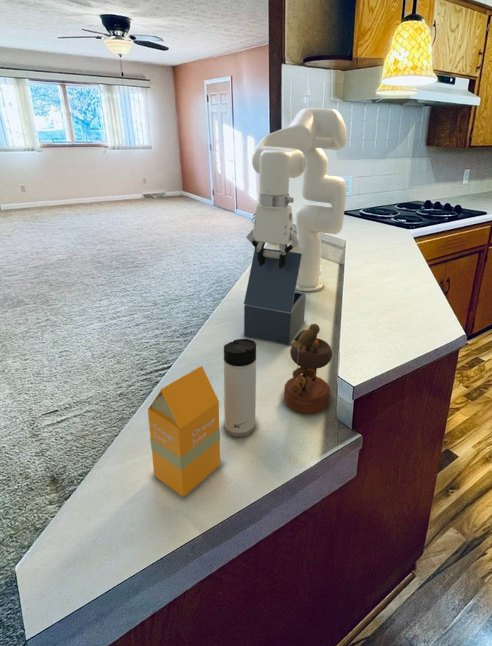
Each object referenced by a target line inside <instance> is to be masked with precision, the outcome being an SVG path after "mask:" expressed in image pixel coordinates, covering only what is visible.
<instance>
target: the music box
mask: <svg viewBox="0 0 492 646" xmlns="http://www.w3.org/2000/svg"><path fill="white" fill-rule="evenodd" d="M320 330H321V328H320V326H319V324H317V323H312V324H310V325H309V326H308V328H307V329H306V328H305V329H302V330H301V331H300V332H299V333H297V334H296V335H295V337H294V338H293V341H292V342H291V343H290V344H289V345H288V346H289V347H290V350H289V351H290V352H289V353H290V358H291V360H292V361H293V362H294V364H296V365H297V366H296V369H294V370H293V371H292V377H291V378H289V379H288V380H287V381H286V383H285V384H284V392H283V401H284V404H285V405H286V407H288V409H289V410H291V411H293V412H295V413H298V414H302V415H315V414H318V413H321V412H323V411H324V410H325V409H327V408H328V406H329V403H330V397H331V396H330V394H331V387H330V385H329V384H328V383H327V382H326V381H325V380H324V379H322V378H321V377H319V376H317V372H318V370H319V369H321V368H324V367H326V366H327V365H328V364H329V363H330V362H331V360H332V358H333V349H332V346H331V345H330V344H329V343H328V342H327V341H326V340H323V339H321V338H318V334H319V333H320ZM317 369H318V370H317Z"/></svg>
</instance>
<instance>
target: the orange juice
mask: <svg viewBox="0 0 492 646" xmlns="http://www.w3.org/2000/svg"><path fill="white" fill-rule="evenodd" d="M147 416H148V426H149V435H150V437H149V440H150V449H151V456H152V467H153V475H154V477H155V478H157V479H158V480H160V481H161V483H164V484H165V485H166V486H168V487H169V488H170V489H172V490H173V491H174V492H176V493H177V494H178V495H179V496H181V497H182V498H184V497H185V496H186V495H188V494H189V493H190V492H191V491H192V490H193V489H194V488H195V487H197V486H198V485H199V484H200V483H201V482H202V481H204V480H205V479H206V478H207V477H209V475H211V474H212V473H213V472H214V471H216V469H217V468H219V467H220V466H221V443H220V442H221V428H220V400H219V399H218V396H217V394H216V392H215V390H214V388H213V385H212V383H211V382H210V379H209V377H208V375H207V372H206V371H205V369H204V367H203V365H201V366H199V367H197V368H195V369H193V370H192V371H190V372H188V373H187V374H185V375H183V376H181V377H179V378H177V379H176V380H174V381H171V382H170V383H169V384H167V385H165V386H164V387H162V388H160V391H159V393H158V394H157V395H156V397H155V398H154V400H153V401H152V403H151V404H150V406H149V407H148V408H147Z"/></svg>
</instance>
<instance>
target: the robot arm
mask: <svg viewBox="0 0 492 646" xmlns="http://www.w3.org/2000/svg"><path fill="white" fill-rule="evenodd" d="M347 139H348V131H347V127H346V124H345V121H344V119H343V117H342V115H341V113H340V112H339V111H338V110H337V109H335V108H323V107H305V108H302V109H300V110H299V111H298V112H297V113H296V115H295V116H294V117H293V119H292V120H291V122H290V124H289V125H288V126H287V127H284V128H281V129H278V130H275V131H274V132H271V133H269V134H267V135H265V136H263V138H262V139H261V140H260V141H259V142H258V143H257V145H256V147H255V148H254V150H253V153H252V158H251V165H252V168H253V170H254V171H255V173H257V174H259V181H258V183H259V190H258V191H259V192H258V193H259V194H258V195H259V197H258V203H257V204H256V207H255V212H254V218H253V228H252V230H251V231H250V232H249V233H248V234H247V235H246V240H247V241H249V242H250V243H251V245H252V246H253V247H254V249H255V248H256V251H257V252H258V262H259V266H262V265H263V264H264V263H265V257H264V256H263V252H264V250H265V249H264V248H265V245H266V244H274V245H277V244H279V246H280V250H281V254H280V255H279V268H280V269H282V268H283V267H284V266H285V265H286V262H287V253H288V252H289V251H290V250H291V249H293V248H294V247H296V246H297V245H299V247H300V251H298V252H297V253H301V254H302V257H301V263H300V268H299V274H298V279H297V284H296V290H297V291H299V292H300V291H301V292H317V291H320V290H321V289H323V285H324V284H323V282H322V281H321V280H320V276H321V275H322V271H321V261H322V249H323V243H322V240H321V238H320V235H319V234H318V233H320V234H329V235H337V234H340V233H341V231H342V229H343V225H344V217H345V208H346V200H347V199H346V197H347V183H346V180H345V179H344V178H342V177H340V176H336V175H335V176H333V175H328V169H329V168H328V167H329V159H328V157H327V155H326V153H325V151H324V150H331V151H340V150H342V149H343V148H344V147H345V146H346V143H347ZM300 176H302V186H301V187H302V188H301V193H302V194H301V195H302V198H303V199H304V200H306V201H309V202H313V203H314V202H315V203H324V204H330V205H331V207H330V206H322V205H315V204H303V205H301V206H299V207H298V208H297V210H296V211H295V225H296V235H295V234H294V217H293V210H292V205H289V204H293V203H294V197H291V196H290V193H289V191H290V190H289V189H290V178H291V179H295V178H298V177H300ZM289 241H292V244H290V245H289V246H287V244H288V242H289Z"/></svg>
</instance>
